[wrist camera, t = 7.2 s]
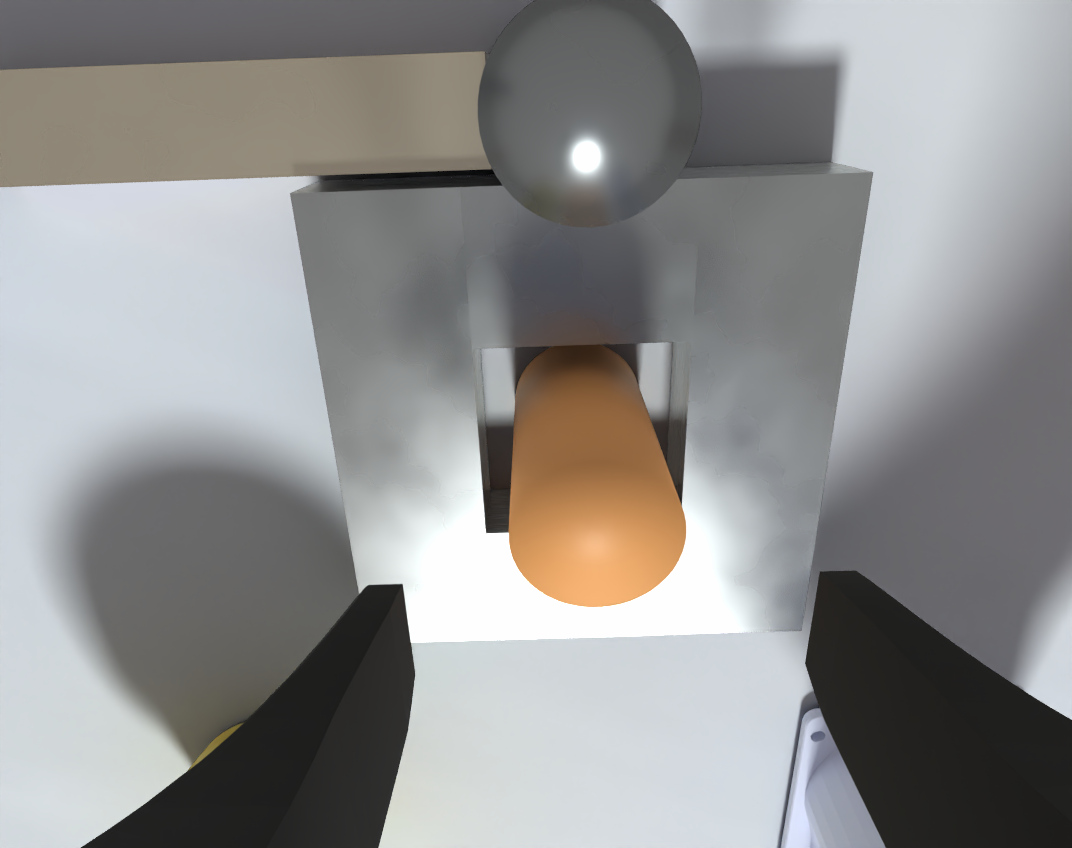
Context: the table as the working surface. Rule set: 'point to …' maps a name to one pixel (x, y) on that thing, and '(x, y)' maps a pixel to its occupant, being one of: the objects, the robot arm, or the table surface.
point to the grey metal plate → (516, 287)
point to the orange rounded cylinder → (589, 482)
